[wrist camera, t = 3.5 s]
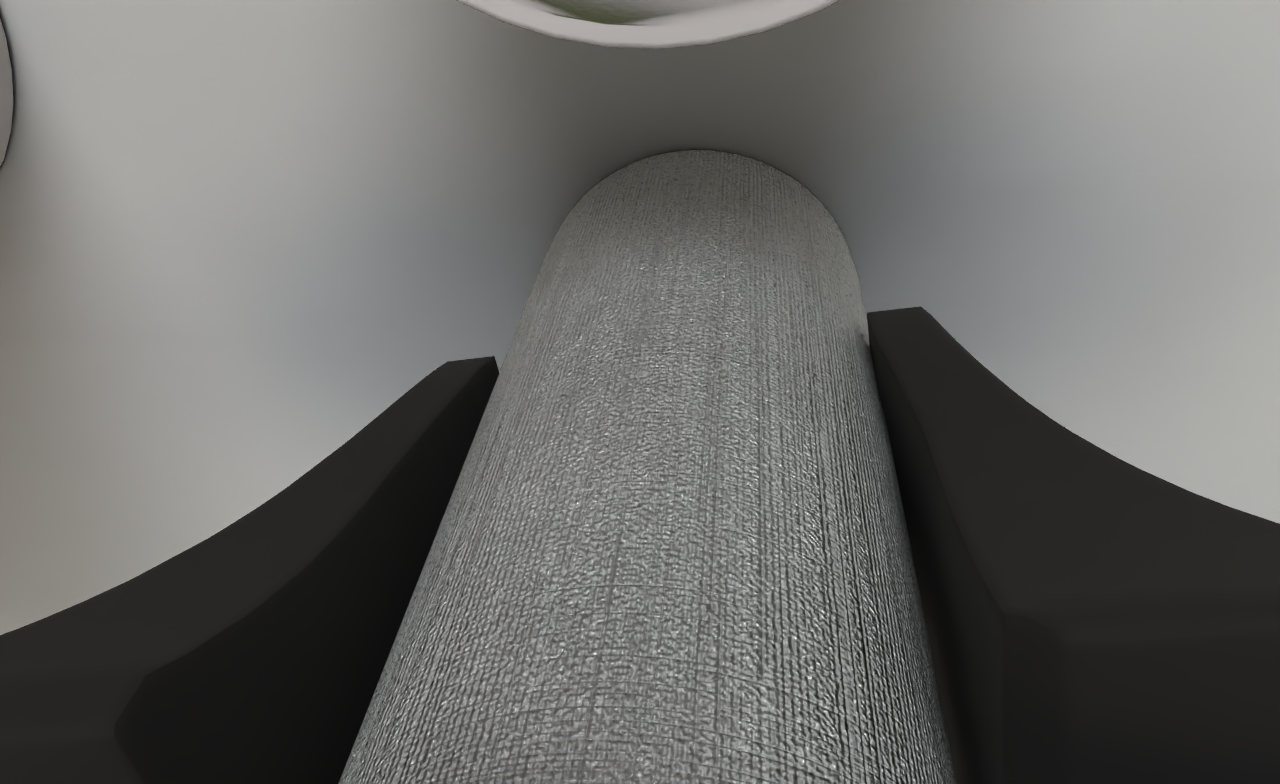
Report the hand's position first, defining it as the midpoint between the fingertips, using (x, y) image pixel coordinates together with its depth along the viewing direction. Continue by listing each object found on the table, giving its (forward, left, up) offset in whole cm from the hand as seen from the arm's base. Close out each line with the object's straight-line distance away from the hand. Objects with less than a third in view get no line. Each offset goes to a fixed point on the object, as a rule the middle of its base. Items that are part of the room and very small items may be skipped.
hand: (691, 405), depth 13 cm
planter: (0, 0, -3) cm, 3 cm away
